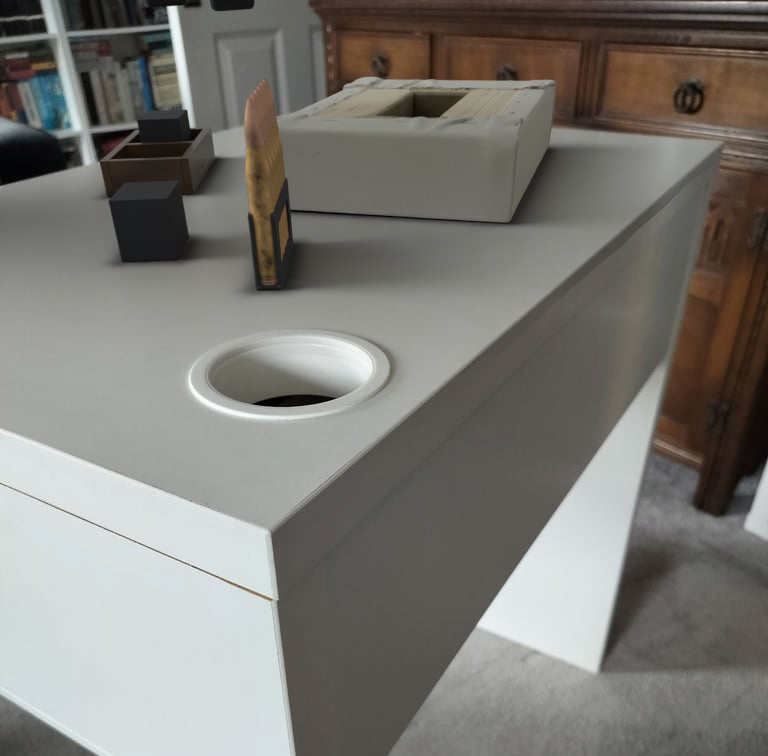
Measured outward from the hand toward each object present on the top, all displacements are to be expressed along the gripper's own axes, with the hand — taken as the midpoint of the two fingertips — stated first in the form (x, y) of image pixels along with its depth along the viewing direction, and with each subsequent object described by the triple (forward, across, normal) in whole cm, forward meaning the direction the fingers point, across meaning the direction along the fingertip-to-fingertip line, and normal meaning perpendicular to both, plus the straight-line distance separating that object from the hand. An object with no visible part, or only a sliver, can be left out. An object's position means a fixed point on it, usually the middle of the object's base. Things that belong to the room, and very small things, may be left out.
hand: (198, 7), depth 57 cm
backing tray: (+16, -23, +6) cm, 29 cm away
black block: (+16, 0, -7) cm, 17 cm away
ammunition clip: (+16, +10, -2) cm, 19 cm away
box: (+16, -3, +25) cm, 30 cm away
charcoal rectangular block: (+15, -26, +8) cm, 32 cm away
